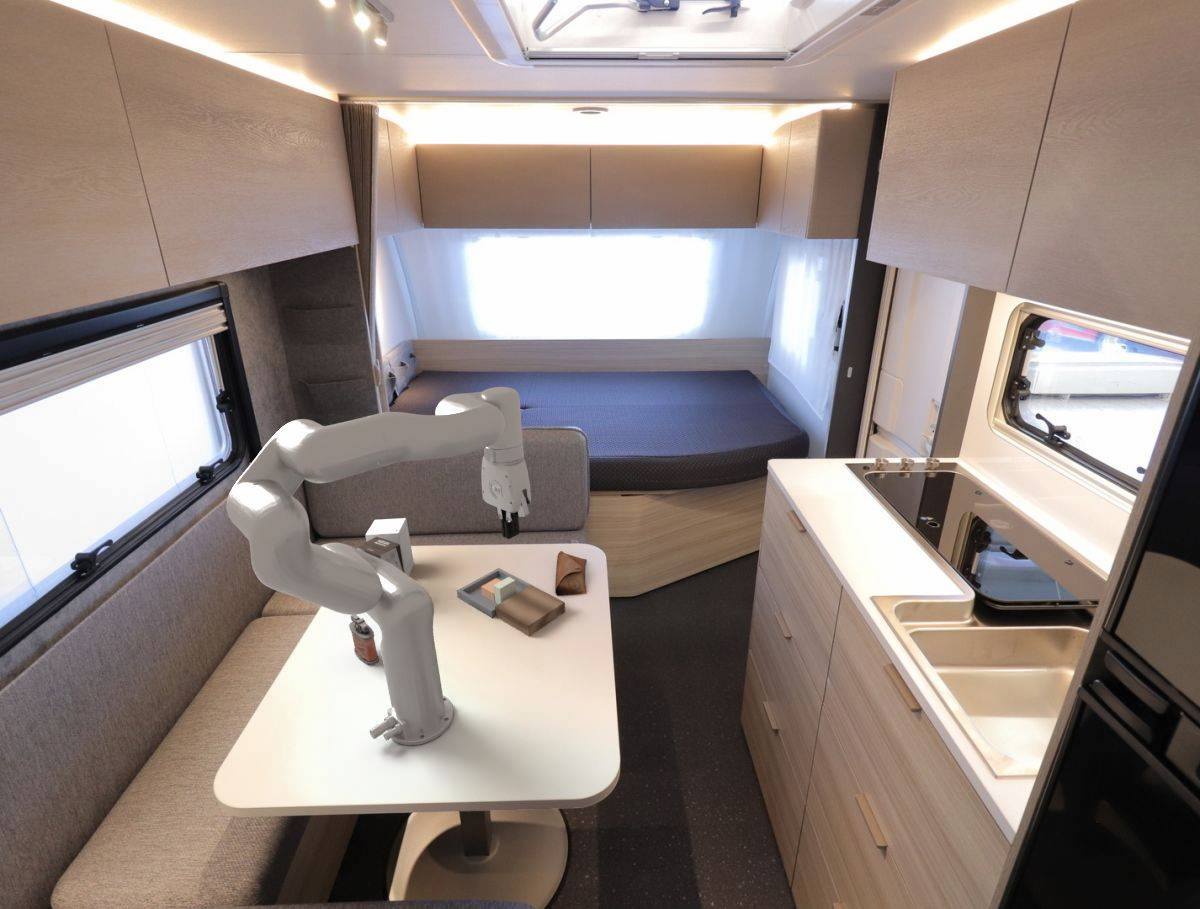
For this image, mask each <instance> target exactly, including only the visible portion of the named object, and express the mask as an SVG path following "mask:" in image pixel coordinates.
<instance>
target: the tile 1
mask: <svg viewBox="0 0 1200 909" xmlns="http://www.w3.org/2000/svg"><path fill="white" fill-rule="evenodd" d="M498 582H500V580H499V579H497V578H496V579H494V580H492V581H490V582H488V583H487V584H485V585H483V586H481V590H482V595H483V596H485V597H487V598H488V599H490V600H492V601H494V602H495V596H494V587H493V585H495V584H497V583H498Z"/></svg>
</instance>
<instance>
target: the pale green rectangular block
mask: <svg viewBox="0 0 1200 909" xmlns="http://www.w3.org/2000/svg"><path fill="white" fill-rule="evenodd" d="M493 587H494V596H495V602H496V603H498V604H499V603H501V602H503V601H504V600H506V599H508V598H509V597H511V596H513V595H514V594H516V585H515V580H514V579H512V578H510V577H507V578H506V579H504V580H502V581H500V582H498V583H497V584H495V585H493Z"/></svg>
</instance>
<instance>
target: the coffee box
mask: <svg viewBox="0 0 1200 909" xmlns="http://www.w3.org/2000/svg"><path fill="white" fill-rule="evenodd" d="M356 549H358V550H361V551H363V552H365V553H368V554H370V555H372V556H375V557H377V558H379V559H382V560H384V561H386V562H389V563H391V564H392V565H394V566H395V567H397V568H398V569H400V570H401V571H402V572H404V567H403V561H402V555H401V549H400V544H397V543H394V542H391V541H389V540H386V539H383V538H380V537H375V538H373V539H371V540H369V541H367V540H366V541H365V542H364V543H362V544H360V545H359V546H357V547H356Z"/></svg>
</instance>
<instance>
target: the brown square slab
mask: <svg viewBox="0 0 1200 909" xmlns="http://www.w3.org/2000/svg"><path fill="white" fill-rule="evenodd" d="M532 585H533V584H531V585H530V586H529V587H527V588H525V589H523V590H522V591H520V592H518V593H517V594H515V595H513V596H512V597H510V598H508V599H507V600H505V601H503V602H502V603H500V604H498V605H497V606H495V611H496V616H495V618H498V619H499V620H501V621H502V622H504V623H506V624H508V625H509V626H510V627H513V628H514V629H516V630H518V631H520V632H521V633H523V634H524V635H526V636H528V637H531V636H532V635H533V634H534V635H535V633H537V632H538V631H540V630H541V629H543V628H544V627H545V626H547V625H549V624H550V623H552V622H554V621H555V620H556V619H558V618H559V617H561V616H562V615H564V614H565V613H566V604H565V603H566V602H565V601H563V600H561V599H559V598H557V597H555V596H554V595H552V594H550V593H548V592H546V591H544V590H542V589H540V588H538V587H537V586H534V585H533V586H532Z"/></svg>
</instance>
